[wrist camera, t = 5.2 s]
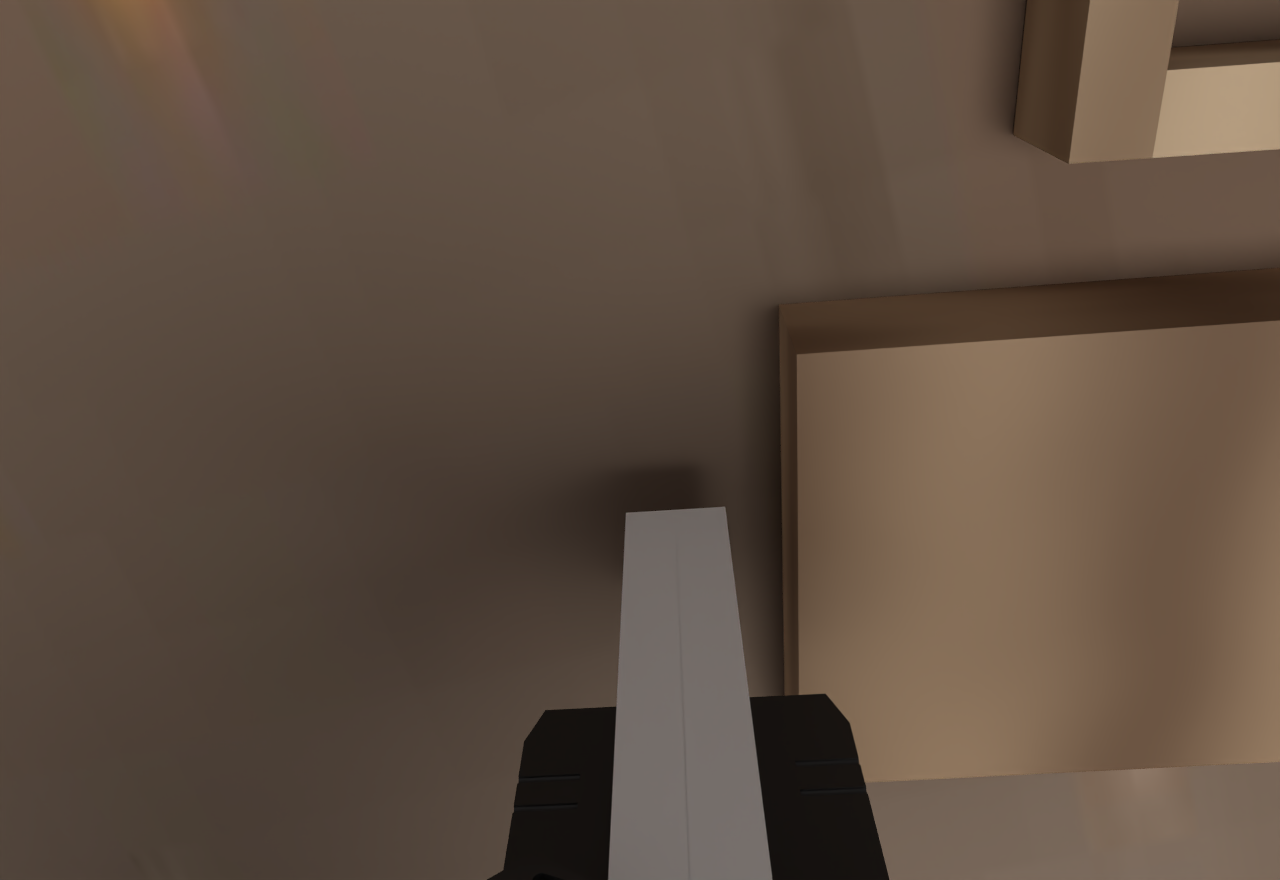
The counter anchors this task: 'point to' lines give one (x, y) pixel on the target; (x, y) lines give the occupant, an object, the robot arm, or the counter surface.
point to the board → (1037, 524)
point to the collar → (1139, 85)
